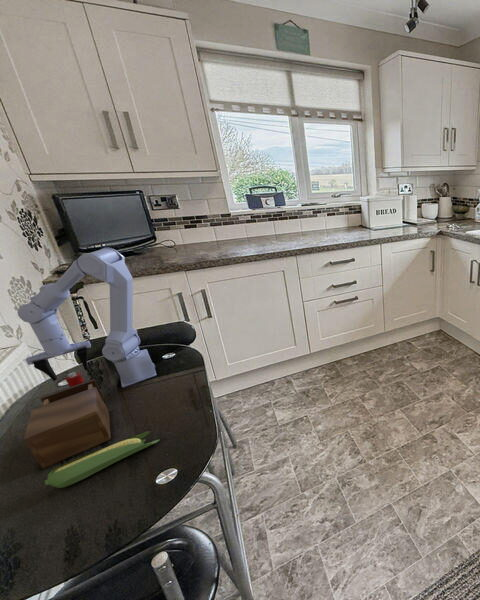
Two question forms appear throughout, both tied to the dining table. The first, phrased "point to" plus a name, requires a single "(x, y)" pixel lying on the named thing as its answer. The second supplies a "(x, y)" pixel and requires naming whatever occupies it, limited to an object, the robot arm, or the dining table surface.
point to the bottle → (74, 379)
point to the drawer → (70, 392)
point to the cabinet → (67, 427)
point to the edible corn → (95, 461)
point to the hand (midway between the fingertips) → (71, 374)
